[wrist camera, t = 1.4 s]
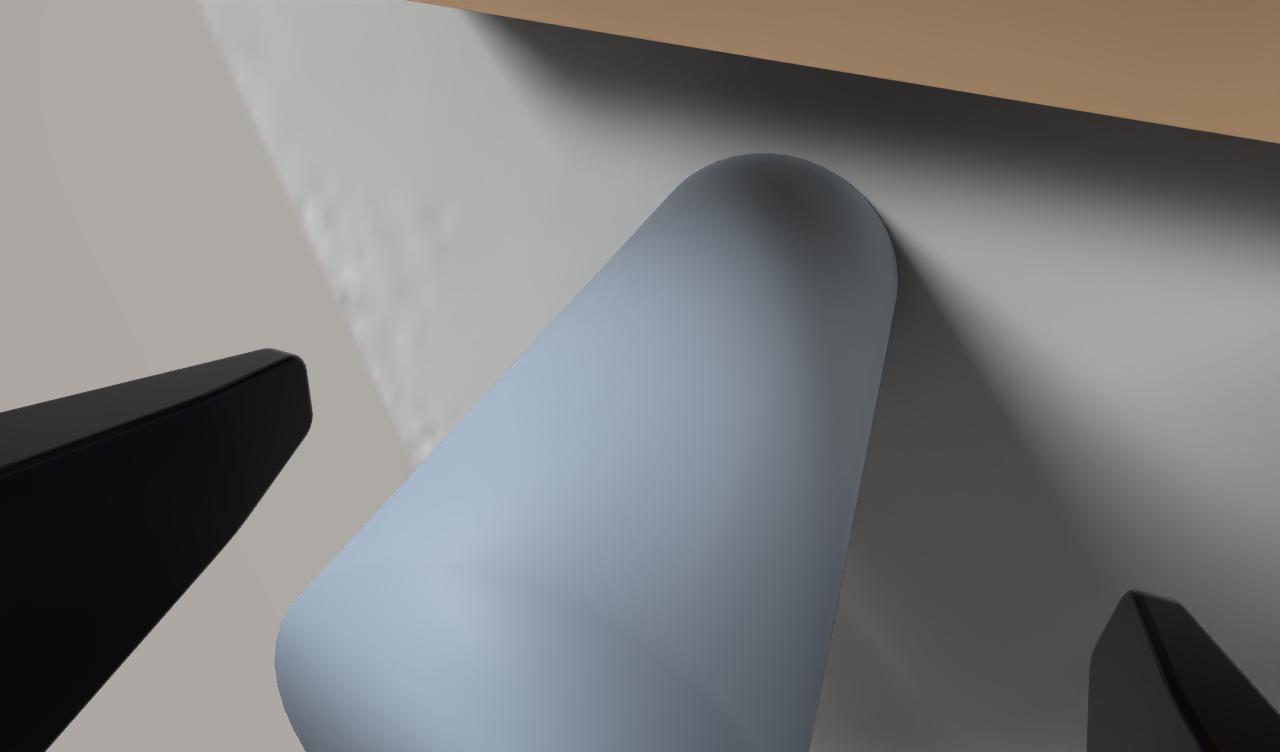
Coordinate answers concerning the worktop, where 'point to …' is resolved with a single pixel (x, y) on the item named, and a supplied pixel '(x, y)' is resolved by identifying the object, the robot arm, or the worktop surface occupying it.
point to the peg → (628, 502)
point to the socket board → (988, 47)
